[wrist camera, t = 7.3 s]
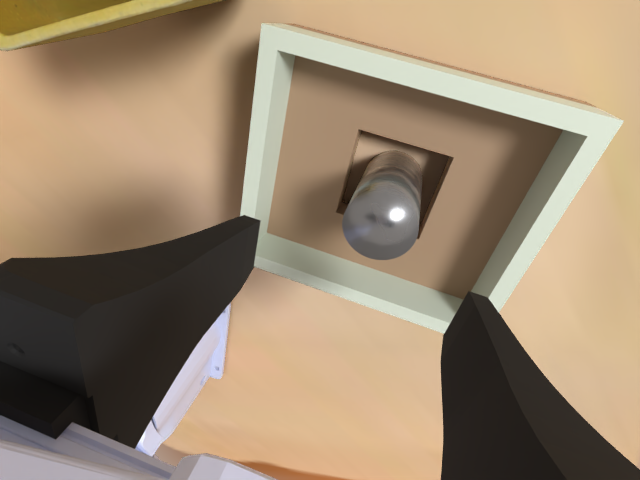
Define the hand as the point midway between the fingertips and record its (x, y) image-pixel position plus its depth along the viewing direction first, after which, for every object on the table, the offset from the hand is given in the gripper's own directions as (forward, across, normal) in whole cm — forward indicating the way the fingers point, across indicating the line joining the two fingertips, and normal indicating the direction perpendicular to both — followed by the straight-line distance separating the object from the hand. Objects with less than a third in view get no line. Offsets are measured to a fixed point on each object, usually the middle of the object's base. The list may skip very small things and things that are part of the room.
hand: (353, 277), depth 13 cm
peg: (+10, 0, 0) cm, 10 cm away
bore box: (+10, 0, 0) cm, 10 cm away
